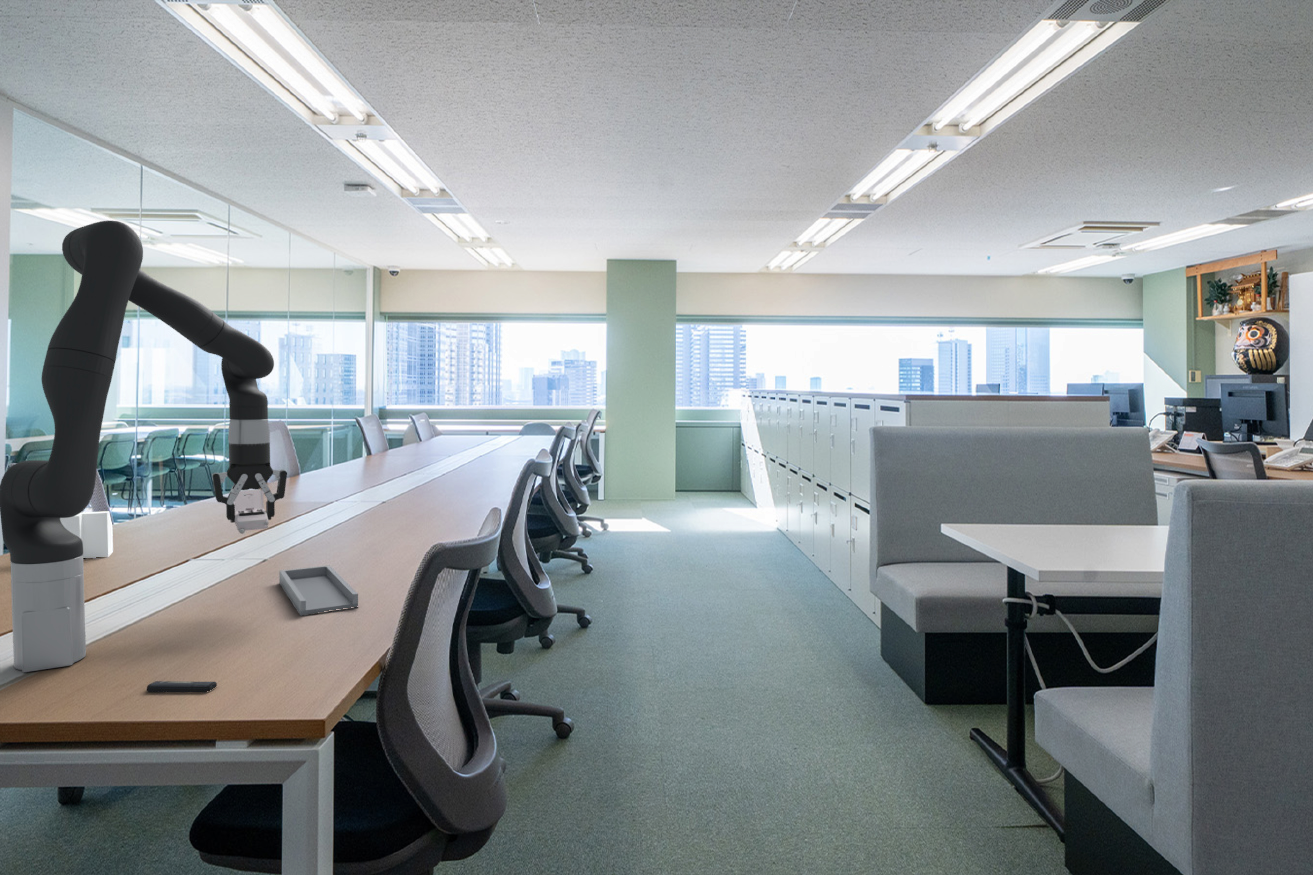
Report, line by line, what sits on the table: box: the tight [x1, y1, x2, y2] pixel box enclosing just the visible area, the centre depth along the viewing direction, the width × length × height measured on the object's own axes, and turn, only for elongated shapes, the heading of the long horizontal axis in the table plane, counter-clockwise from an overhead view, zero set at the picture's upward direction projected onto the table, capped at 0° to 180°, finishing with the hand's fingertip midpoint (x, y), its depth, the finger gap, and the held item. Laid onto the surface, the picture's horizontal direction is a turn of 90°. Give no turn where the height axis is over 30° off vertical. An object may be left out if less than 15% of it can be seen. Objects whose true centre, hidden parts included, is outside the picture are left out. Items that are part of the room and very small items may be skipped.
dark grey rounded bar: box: [146, 680, 218, 693], centre depth 111 cm, size 10×3×2 cm, turn 92°
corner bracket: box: [60, 510, 114, 559], centre depth 196 cm, size 11×11×12 cm
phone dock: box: [278, 564, 359, 617], centre depth 164 cm, size 30×11×3 cm, turn 34°
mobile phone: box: [234, 488, 270, 534], centre depth 155 cm, size 6×6×25 cm
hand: (251, 520), depth 155 cm, fingers closed on mobile phone, 6 cm apart
